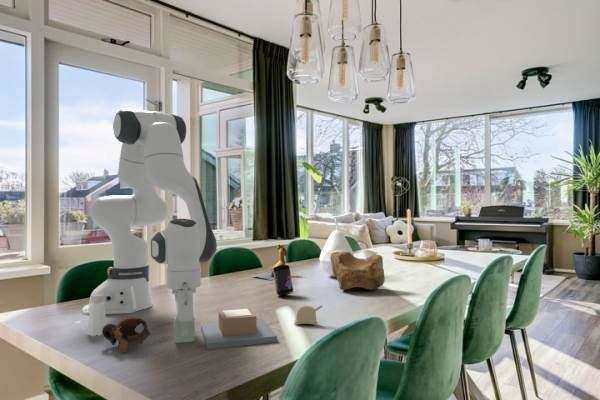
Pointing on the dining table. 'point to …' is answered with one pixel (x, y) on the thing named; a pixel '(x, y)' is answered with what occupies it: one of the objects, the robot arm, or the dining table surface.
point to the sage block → (177, 332)
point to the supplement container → (283, 280)
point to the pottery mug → (126, 333)
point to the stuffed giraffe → (282, 262)
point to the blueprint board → (236, 339)
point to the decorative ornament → (306, 315)
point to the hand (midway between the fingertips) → (184, 331)
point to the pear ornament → (334, 248)
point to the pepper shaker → (96, 316)
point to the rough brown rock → (357, 271)
